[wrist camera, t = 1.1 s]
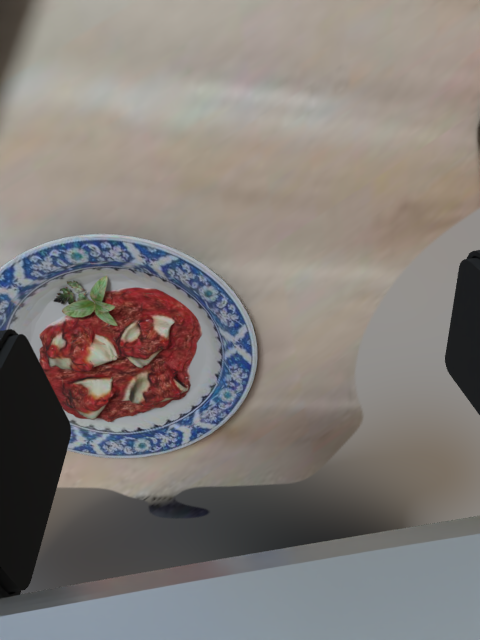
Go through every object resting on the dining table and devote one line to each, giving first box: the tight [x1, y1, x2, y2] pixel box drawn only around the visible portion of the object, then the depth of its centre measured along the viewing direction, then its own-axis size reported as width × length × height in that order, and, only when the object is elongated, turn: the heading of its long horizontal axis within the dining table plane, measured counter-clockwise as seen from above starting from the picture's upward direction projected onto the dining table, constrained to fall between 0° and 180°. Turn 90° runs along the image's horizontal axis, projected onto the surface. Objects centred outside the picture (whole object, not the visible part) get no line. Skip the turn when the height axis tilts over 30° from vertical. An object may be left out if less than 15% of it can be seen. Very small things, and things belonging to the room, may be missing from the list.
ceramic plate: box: [0, 234, 257, 458], centre depth 42 cm, size 26×26×3 cm
